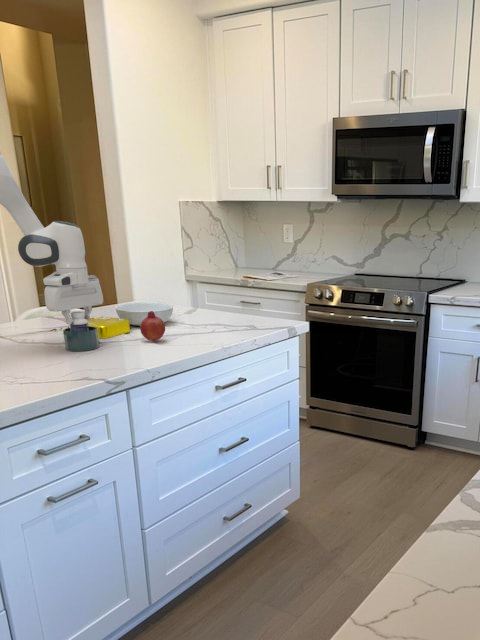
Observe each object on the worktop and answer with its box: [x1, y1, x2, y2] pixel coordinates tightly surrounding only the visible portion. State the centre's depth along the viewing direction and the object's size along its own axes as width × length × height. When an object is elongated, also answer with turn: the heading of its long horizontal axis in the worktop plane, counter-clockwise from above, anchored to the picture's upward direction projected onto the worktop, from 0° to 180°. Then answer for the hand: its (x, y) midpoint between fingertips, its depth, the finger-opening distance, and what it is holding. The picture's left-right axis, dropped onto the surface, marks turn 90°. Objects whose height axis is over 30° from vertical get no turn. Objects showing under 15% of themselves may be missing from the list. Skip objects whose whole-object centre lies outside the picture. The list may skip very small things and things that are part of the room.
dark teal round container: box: [62, 326, 100, 352], centre depth 192 cm, size 10×10×6 cm
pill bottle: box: [69, 311, 89, 332], centre depth 191 cm, size 5×5×10 cm
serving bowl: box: [115, 301, 174, 327], centre depth 231 cm, size 21×21×7 cm
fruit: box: [139, 311, 166, 342], centre depth 202 cm, size 8×8×10 cm
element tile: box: [88, 315, 131, 340], centre depth 213 cm, size 15×15×5 cm
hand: (78, 322), depth 190 cm, fingers closed on pill bottle, 5 cm apart
